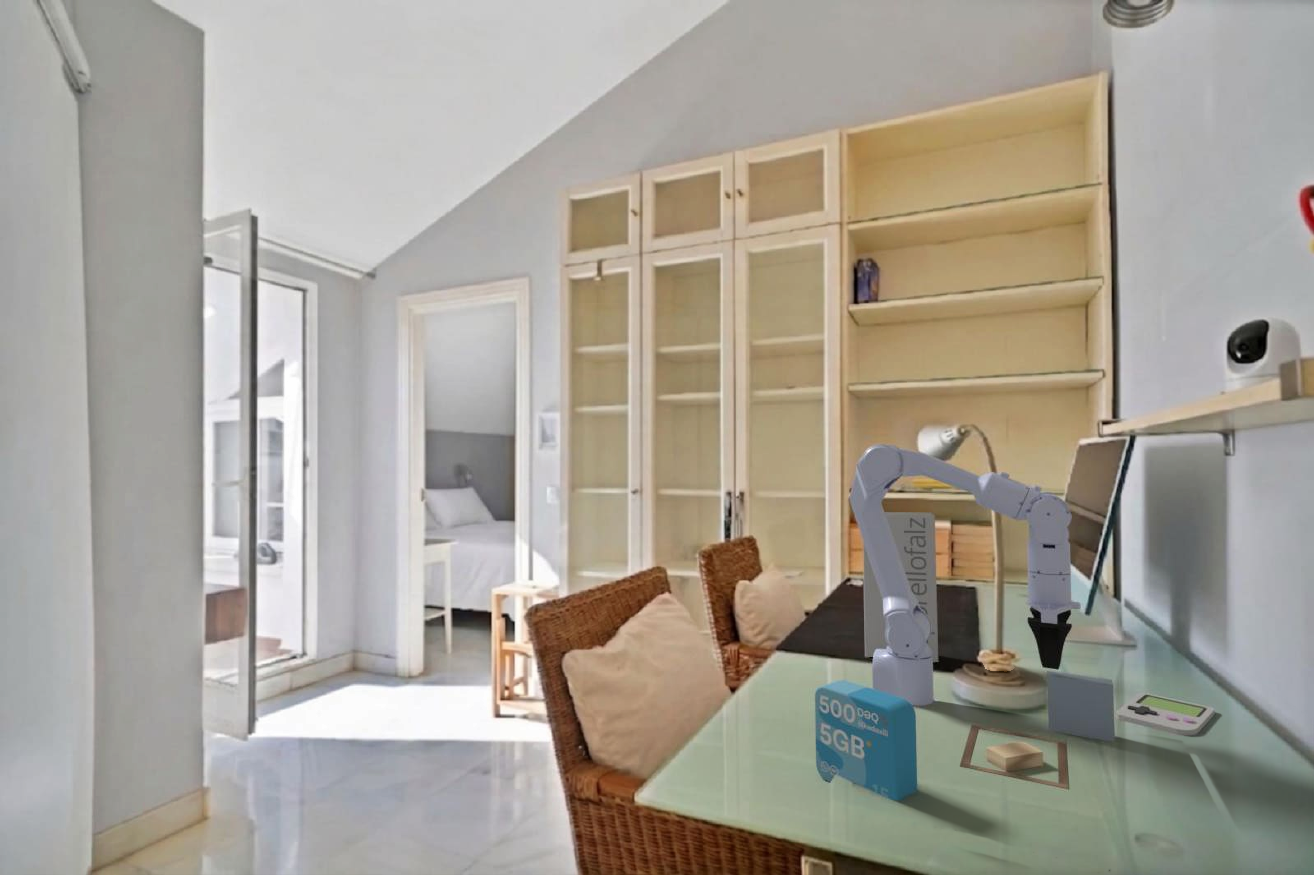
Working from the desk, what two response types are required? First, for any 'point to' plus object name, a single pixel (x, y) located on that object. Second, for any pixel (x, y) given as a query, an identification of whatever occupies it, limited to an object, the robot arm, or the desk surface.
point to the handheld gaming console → (1165, 714)
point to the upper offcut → (1014, 756)
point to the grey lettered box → (920, 568)
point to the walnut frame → (966, 760)
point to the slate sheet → (1081, 705)
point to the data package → (866, 738)
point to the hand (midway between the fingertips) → (1050, 661)
